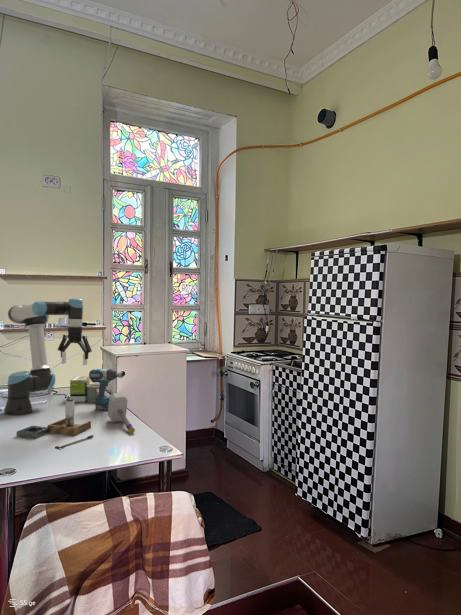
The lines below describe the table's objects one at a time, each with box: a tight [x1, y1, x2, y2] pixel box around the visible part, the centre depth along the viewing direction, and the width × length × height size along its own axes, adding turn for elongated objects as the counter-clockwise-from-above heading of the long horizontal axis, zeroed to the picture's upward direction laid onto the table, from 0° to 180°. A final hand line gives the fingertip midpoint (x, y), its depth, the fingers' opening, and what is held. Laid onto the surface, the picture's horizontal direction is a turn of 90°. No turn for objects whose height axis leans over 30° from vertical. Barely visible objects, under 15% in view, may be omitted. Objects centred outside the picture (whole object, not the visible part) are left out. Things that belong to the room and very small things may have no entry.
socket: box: [16, 425, 50, 440], centre depth 217 cm, size 11×11×2 cm
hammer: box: [107, 392, 136, 434], centre depth 234 cm, size 15×8×30 cm
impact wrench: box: [88, 368, 124, 411], centre depth 271 cm, size 8×23×25 cm, turn 78°
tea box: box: [69, 375, 91, 403], centre depth 295 cm, size 15×10×15 cm
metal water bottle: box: [64, 397, 76, 428], centre depth 226 cm, size 4×4×15 cm
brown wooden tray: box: [46, 417, 92, 436], centre depth 226 cm, size 16×14×4 cm
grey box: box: [86, 383, 100, 403], centre depth 291 cm, size 13×10×10 cm
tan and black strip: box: [54, 434, 94, 451], centre depth 205 cm, size 21×7×1 cm, turn 147°
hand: (74, 364), depth 244 cm, fingers open, 13 cm apart
